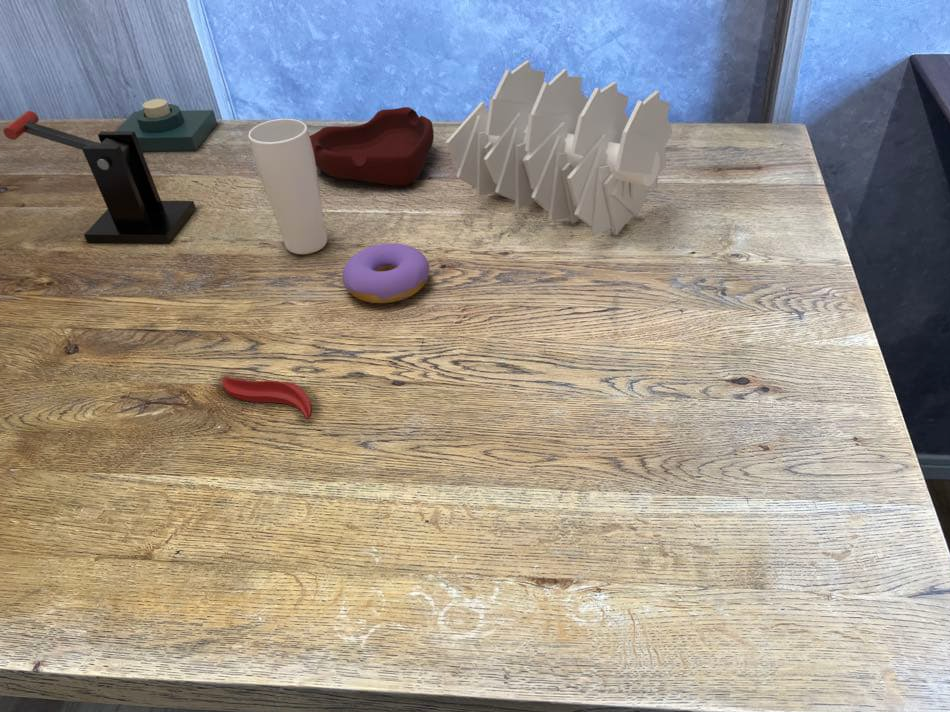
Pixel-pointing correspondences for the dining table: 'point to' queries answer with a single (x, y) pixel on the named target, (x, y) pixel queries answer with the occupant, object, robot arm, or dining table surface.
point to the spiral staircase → (564, 148)
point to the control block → (171, 129)
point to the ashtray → (376, 148)
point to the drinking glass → (290, 182)
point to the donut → (386, 273)
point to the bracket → (131, 196)
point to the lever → (55, 134)
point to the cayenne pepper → (268, 393)
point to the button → (156, 108)
